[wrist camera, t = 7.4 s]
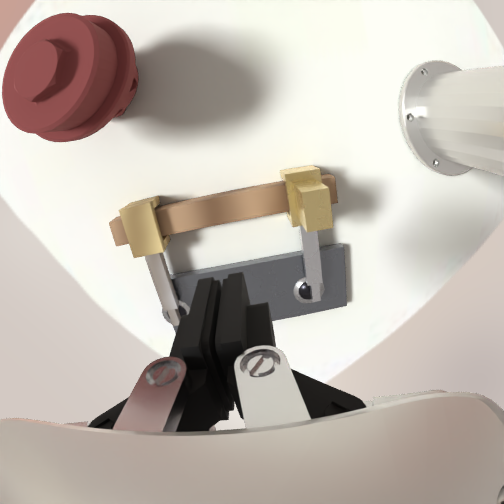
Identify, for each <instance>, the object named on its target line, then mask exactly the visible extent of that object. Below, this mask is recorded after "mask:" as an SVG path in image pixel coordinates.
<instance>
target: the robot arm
mask: <svg viewBox="0 0 504 504" xmlns="http://www.w3.org/2000/svg"><path fill="white" fill-rule="evenodd" d="M399 117H400V123H401V127H402V131H403V134H404V136H405V139H406V141H407V144H408V145H409V147H410V149H411V150H412V152H413V154H414V155H415V156H416V157H417V158H418V160H419V161H420V162H421V163H423V164H424V165H425V166H426V167H428V168H429V169H431V170H433V171H435V172H438V173H441V174H445V175H459V174H462V173H464V172H466V171H468V170H469V169H471V168H472V167H474V168H477V169H481V170H484V171H488V172H491V173H494V174H498V175H501V176H504V66H495V67H485V68H477V69H469V70H461V69H460V68H458V67H457V66H455V65H453V64H451V63H448V62H445V61H429V62H425V63H423V64H420V65H418V66H416V67H415V68H414V69H413V70H412V71H411V72H410V73H409V74H408V76H407V77H406V78H405V81H404V83H403V85H402V88H401V92H400V97H399ZM407 117H408V119H407ZM234 401H235V404H236V407H237V409H238V412H239V414H240V417H241V418H242V419H244V422H245V427H246V428H245V429H233V430H219V431H216V428H215V424H216V423H217V422H218V421H220V420H228V418H229V411H232V410H234ZM0 504H504V411H503V409H501V408H500V407H499V406H498V405H497V404H496V403H495V402H494V401H492V400H491V399H489V398H487V397H485V396H483V395H479V394H476V393H469V392H446V391H443V390H431V391H424V392H417V393H409V394H401V395H393V396H382V397H374V398H373V401H366V402H363V401H362V400H360V399H359V398H357V397H355V396H353V395H351V394H348V393H346V392H343V391H341V390H338V389H336V388H334V387H331V386H329V385H327V384H324V383H322V382H320V381H317V380H315V379H313V378H310V377H308V376H306V375H304V374H301V373H299V372H297V371H295V370H293V369H291V368H290V366H289V363H288V361H287V358H286V356H285V354H284V353H283V351H281V350H280V349H278V348H276V344H275V337H274V330H273V324H272V319H271V314H270V308H269V304H268V302H265V303H260V304H254V305H251V304H250V300H249V295H248V291H247V286H246V282H245V278H244V274H243V272H239V273H233V274H228V278H227V279H223V283H222V286H221V283H220V280H215V279H214V277H210V278H204V279H199V280H198V283H197V286H196V290H195V293H194V297H193V300H192V304H191V307H190V311H189V314H188V315H183V316H182V317H181V319H180V322H179V326H178V329H177V332H176V336H175V339H174V342H173V346H172V349H171V352H170V356H169V357H164V358H160V359H157V360H156V361H154V362H152V363H150V364H149V365H148V366H147V367H146V368H145V369H144V371H143V373H142V374H141V376H140V378H139V380H138V382H137V383H136V385H135V387H134V389H133V391H132V393H131V395H130V396H129V397H128V398H127V399H125V400H124V401H122V402H120V403H119V404H117V405H116V406H114V407H113V408H111V409H109V410H108V411H106V412H105V413H103V414H101V415H100V416H98V417H97V418H95V419H94V420H93V421H92V422H91V423H89V422H78V423H68V424H59V423H51V422H46V421H39V420H31V419H21V418H10V419H1V420H0Z"/></svg>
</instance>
